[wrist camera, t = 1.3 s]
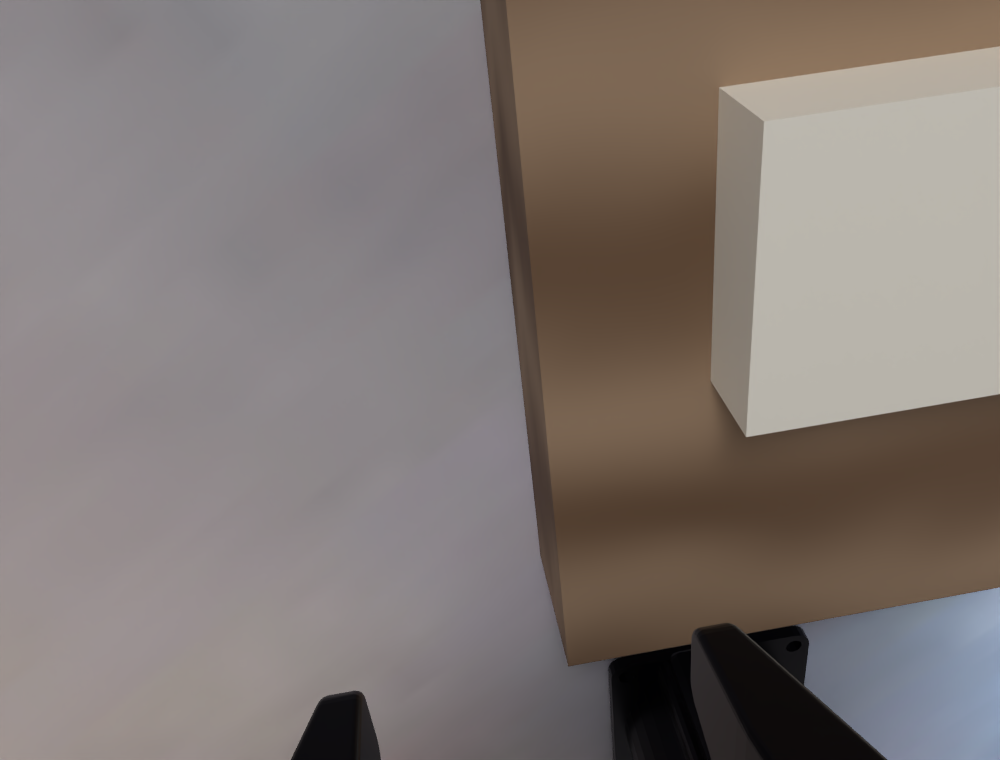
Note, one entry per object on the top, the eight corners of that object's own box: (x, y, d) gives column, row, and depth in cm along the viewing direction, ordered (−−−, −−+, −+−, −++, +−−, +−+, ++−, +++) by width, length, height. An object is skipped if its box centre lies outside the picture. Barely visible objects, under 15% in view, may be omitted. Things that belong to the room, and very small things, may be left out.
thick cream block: (1121, 312, 19) (1196, 360, 17) (710, 380, 19) (746, 437, 17) (1215, 15, 16) (1317, 38, 14) (719, 87, 15) (763, 121, 14)
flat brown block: (1000, 475, 27) (1092, 570, 24) (540, 556, 26) (568, 666, 23) (1265, -552, 15) (1530, -657, 12) (430, -463, 14) (453, -548, 11)
